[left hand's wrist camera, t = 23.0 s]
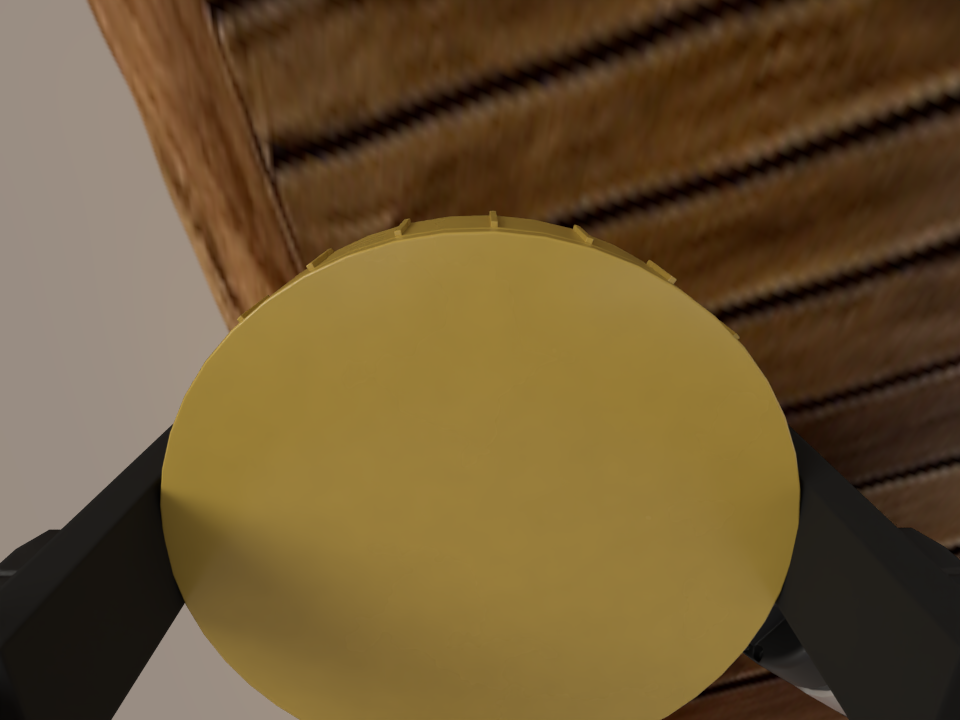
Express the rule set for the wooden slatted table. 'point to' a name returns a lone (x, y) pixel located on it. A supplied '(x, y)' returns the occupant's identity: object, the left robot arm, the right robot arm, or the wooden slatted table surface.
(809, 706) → the wooden slatted table surface
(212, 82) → the wooden slatted table surface
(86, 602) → the left robot arm
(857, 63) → the wooden slatted table surface
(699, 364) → the lid
